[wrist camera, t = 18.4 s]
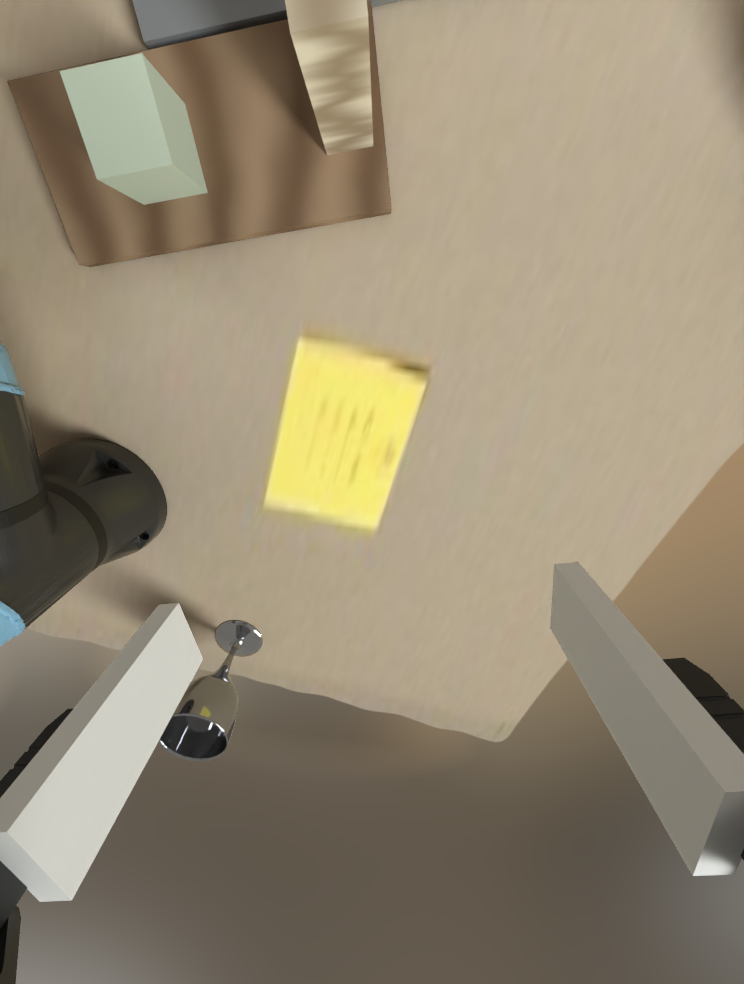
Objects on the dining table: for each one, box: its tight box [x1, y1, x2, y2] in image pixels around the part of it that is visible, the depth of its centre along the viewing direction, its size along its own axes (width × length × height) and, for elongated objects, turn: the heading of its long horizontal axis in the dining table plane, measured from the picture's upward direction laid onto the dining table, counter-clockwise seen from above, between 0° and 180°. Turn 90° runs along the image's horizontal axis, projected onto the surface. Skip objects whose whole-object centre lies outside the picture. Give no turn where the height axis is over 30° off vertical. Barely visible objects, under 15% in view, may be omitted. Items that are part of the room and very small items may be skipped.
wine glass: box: [159, 620, 262, 761], centre depth 49 cm, size 8×8×15 cm
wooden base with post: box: [8, 0, 391, 267], centre depth 26 cm, size 30×13×16 cm, turn 98°
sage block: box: [60, 53, 208, 205], centre depth 29 cm, size 6×6×6 cm
